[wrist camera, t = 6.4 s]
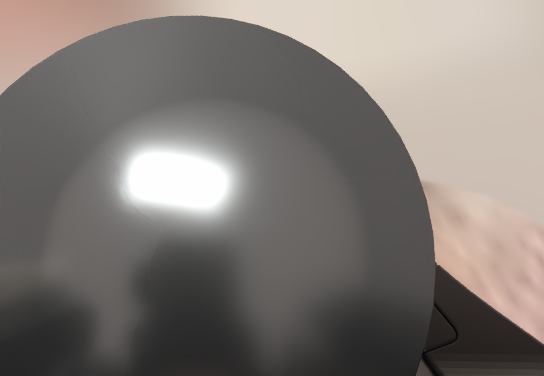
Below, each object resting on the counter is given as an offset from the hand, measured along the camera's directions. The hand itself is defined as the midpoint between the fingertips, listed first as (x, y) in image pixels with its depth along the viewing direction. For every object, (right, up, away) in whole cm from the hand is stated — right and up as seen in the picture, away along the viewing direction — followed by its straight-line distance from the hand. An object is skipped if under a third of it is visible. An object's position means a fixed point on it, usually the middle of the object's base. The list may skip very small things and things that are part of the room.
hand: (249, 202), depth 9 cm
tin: (0, -3, +6) cm, 6 cm away
